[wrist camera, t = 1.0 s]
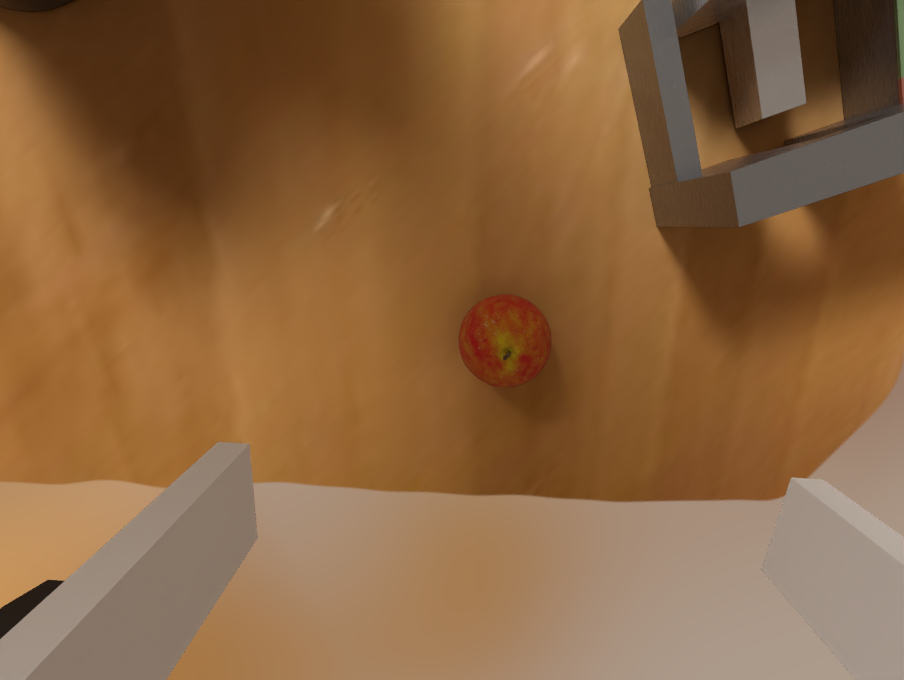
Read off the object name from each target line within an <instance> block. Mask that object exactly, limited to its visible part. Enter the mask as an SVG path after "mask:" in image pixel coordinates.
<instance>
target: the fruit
mask: <svg viewBox="0 0 904 680" xmlns="http://www.w3.org/2000/svg"><path fill="white" fill-rule="evenodd" d="M459 349H460V354H461V356H462V359H463V361H464V363H465V365H466V366H467V368H468V369H469V370H470V371H471V372H472V373H473V374H474V375H475V376H476V377H477V378H479V379H480V380H482V381H484V382H486V383H488V384H490V385H493V386H497V387H513V386H517V385H521V384H523V383H526V382H528V381H529V380H531V379H532V378H534V377H535V376H536V375H537V374H538V373H539V372H540V371H541V370H542V368H543V367H544V365H545V364H546V362H547V359H548V357H549V354H550V350H551V332H550V328H549V325H548V323H547V321H546V319H545V317H544V315H543V314H542V313H541V311H540V310H539V309H538V308H537V307H536V306H535V305H534V304H532V303H531V302H529V301H528V300H526V299H523V298H521V297H518V296H514V295H496V296H492V297H489V298H486V299H484V300H482V301H480V302H479V303H478V304H476V305H475V306H474V307H473V308H472V309H471V310H470V311H469V312H468V314H467V315H466V316H465V318H464V320H463V322H462V325H461V328H460V332H459Z"/></svg>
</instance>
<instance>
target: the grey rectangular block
mask: <svg viewBox="0 0 904 680" xmlns="http://www.w3.org/2000/svg"><path fill="white" fill-rule="evenodd" d="M671 2H672V8H673V14H674V19H675V25H676V30H677V36H678V38H680V37H683V36H686V35H688V34H691V33H693V32H696V31H699V30H701V29H704V28H706V27H709V26H711V25H714V24H717V23H719V24H720V31H721V37H722V44H723V50H724V57H725V63H726V70H727V76H728V83H729V89H730V96H731V102H732V109H733V115H734V122H735V128H738V127H741V126H744V125H747V124H750V123H752V122H755V121H758V120H761V119H764V118H766V117H769V116H772V115H775V114H778V113H780V112H783V111H786V110H789V109H792V108H794V107H797V106H800V105H803V104H806V95H805V86H804V77H803V68H802V59H801V51H800V42H799V33H798V24H797V15H796V6H795V0H671Z"/></svg>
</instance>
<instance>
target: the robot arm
mask: <svg viewBox="0 0 904 680" xmlns="http://www.w3.org/2000/svg"><path fill="white" fill-rule="evenodd" d="M69 1H71V0H0V6H2V7H5V8H9V9H13V10H19V11H42V10H48V9H52V8H55V7H58V6H61V5H63V4H65V3H67V2H69ZM254 503H255V502H254V491H253V479H252V468H251V456H250V445H249V444H242V443H226V442H217V443H216V444H215V445H214V446H213V447H212V448H211V449H210V450H209V451H208V452H206V453H205V454H204V455H203V456H202V457H201V458H200V459H199V460H198V461H196V462H195V463H194V464H193V465H192V466H191V467H190V468H189V469H188V470H187V471H185V472H184V473H183V474H182V475H181V476H180V477H179V478H178V479H177V480H175V481H174V482H173V483H172V484H171V485H170V486H169V487H168V488H167V489H166V490H165V491H163V492H162V493H161V494H160V495H159V496H158V497H157V498H156V499H155V500H154V501H152V502H151V503H150V504H149V505H148V506H147V507H146V508H145V509H143V510H142V512H140V513H139V514H138V515H137V516H136V517H135V518H134V519H132V520H131V521H130V522H129V523H128V524H127V525H126V526H125V527H124V528H123V529H121V530H120V531H119V532H118V533H117V534H116V535H115V536H114V537H113V538H111V540H109V541H108V542H107V543H106V544H105V545H104V546H103V547H102V548H100V549H99V550H98V551H97V552H96V553H95V554H94V555H93V556H92V557H91V558H89V559H88V560H87V561H86V562H85V563H84V564H83V565H82V566H81V567H80V568H78V569H77V570H76V571H75V572H74V573H73V574H72V575H71V576H70V577H69V578H67V579H66V580H65V581H57V580H47V581H45V582H44V583H42V584H40V585H39V586H37V587H35V588H33V589H32V590H30V591H28V592H27V593H25V594H23V595H22V596H20V597H18V598H17V599H15V600H13V601H12V602H10V603H8V604H7V605H5V606H3V607H2V608H1V609H0V680H166V679H167V678H168V676H169V675H170V673H171V672H172V670H173V669H174V667H175V666H176V664H177V662H178V661H179V659H180V658H181V656H182V655H183V653H184V652H185V650H186V648H187V647H188V645H189V644H190V642H191V641H192V639H193V637H194V636H195V634H196V633H197V631H198V630H199V628H200V627H201V625H202V624H203V622H204V620H205V619H206V617H207V615H208V614H209V613H210V611H211V609H212V608H213V606H214V605H215V603H216V602H217V600H218V599H219V597H220V596H221V594H222V592H223V591H224V589H225V588H226V586H227V585H228V583H229V581H230V580H231V579H232V577H233V575H234V574H235V572H236V571H237V569H238V568H239V566H240V564H241V563H242V561H243V560H244V558H245V557H246V555H247V554H248V552H249V551H250V549H251V547H252V546H253V544H254V543H255V541H256V540H257V525H256V514H255V504H254ZM761 570H762V571H763V573H764V574H765V575H766V576H767V577H768V578H769V580H770V581H771V582H772V583H773V584H774V585H775V586H776V588H777V589H778V590H779V591H780V592H781V593H782V595H783V596H784V597H785V598H786V599H787V600H788V602H789V603H790V604H791V605H792V606H793V607H794V609H795V610H796V611H797V612H798V613H799V614H800V616H802V618H803V619H804V620H805V621H806V623H807V624H808V625H809V626H810V627H811V628H812V629H813V631H814V632H815V633H816V634H817V635H818V636H819V638H820V639H821V640H822V641H823V642H824V643H825V644H826V646H827V647H828V648H829V649H830V650H831V651H832V653H833V654H834V655H835V656H836V657H837V658H838V660H839V661H840V662H841V663H842V664H843V665H844V667H845V668H846V669H847V670H848V671H849V672H850V674H851V675H852V676H853V677H854V678H855V679H856V680H904V537H903V536H901V535H900V534H899V533H897V532H896V531H894V530H893V529H891V528H890V527H889V526H887V525H886V524H885V523H883V522H882V521H880V520H879V519H877V518H876V517H875V516H873V515H872V514H870V513H869V512H868V511H866V510H865V509H863V508H862V507H861V506H859V505H858V504H856V503H855V502H854V501H852V500H851V499H849V498H848V497H847V496H845V495H844V494H842V493H841V492H840V491H838V490H837V489H835V488H834V487H833V486H831V485H830V484H828V483H827V482H826V481H824V480H821V479H805V478H791V480H790V483H789V486H788V489H787V492H786V495H785V498H784V501H783V504H782V507H781V511H780V514H779V517H778V520H777V523H776V526H775V529H774V532H773V535H772V538H771V541H770V544H769V547H768V551H767V553H766V556H765V560H764V563H763V566H762V569H761Z"/></svg>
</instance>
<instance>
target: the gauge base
mask: <svg viewBox="0 0 904 680" xmlns="http://www.w3.org/2000/svg"><path fill="white" fill-rule="evenodd" d="M833 1H834V12H835V23H836V33H837V44H838V55H839V66H840V77H841V88H842V99H843V110H844V120H843V121H840V122H837V123H834V124H831V125H828V126H825V127H823V128H820V129H817V130H814V131H811V132H808V133H805V134H803V135H800V136H797V137H794V138H791V139H788V140H785V147H780V148H776V149H772V150H768V151H764V152H760V153H756V154H752V155H748V156H744V157H740V158H736V159H732V160H728V161H725V162H722V163H719V164H717V165H714V166H711V167H708V168H705V169H702V170H701V166H700V160H699V155H698V149H697V143H696V138H695V132H694V126H693V121H692V115H691V109H690V104H689V98H688V92H687V87H686V81H685V76H684V70H683V64H682V59H681V53H680V47H679V42H678V36H677V30H676V25H675V19H674V14H673V8H672V2H671V0H641V1H640V3H639V4H638V5H637V6H636V8H635V9H634V10H633V11H632V13H631V14H630V15H629V16H628V18H627V19H626V20H625V22H624V23H623V24H622V25H621V27H620V28H619V34H620V38H621V43H622V48H623V53H624V58H625V62H626V67H627V72H628V77H629V82H630V86H631V91H632V96H633V101H634V106H635V110H636V115H637V120H638V125H639V130H640V134H641V139H642V144H643V149H644V154H645V158H646V163H647V168H648V173H649V178H650V182H651V188H649V191H650V196H651V201H652V205H653V210H654V215H655V220H656V224H657V227H741V226H744V225H747V224H750V223H753V222H756V221H759V220H762V219H765V218H768V217H772V216H775V215H778V214H781V213H784V212H787V211H790V210H793V209H796V208H799V207H802V206H805V205H808V204H811V203H814V202H817V201H820V200H823V199H826V198H829V197H832V196H835V195H838V194H841V193H844V192H847V191H850V190H853V189H856V188H859V187H862V186H865V185H868V184H871V183H874V182H877V181H880V180H883V179H886V178H889V177H892V176H895V175H898V174H902V173H904V0H833Z"/></svg>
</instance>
